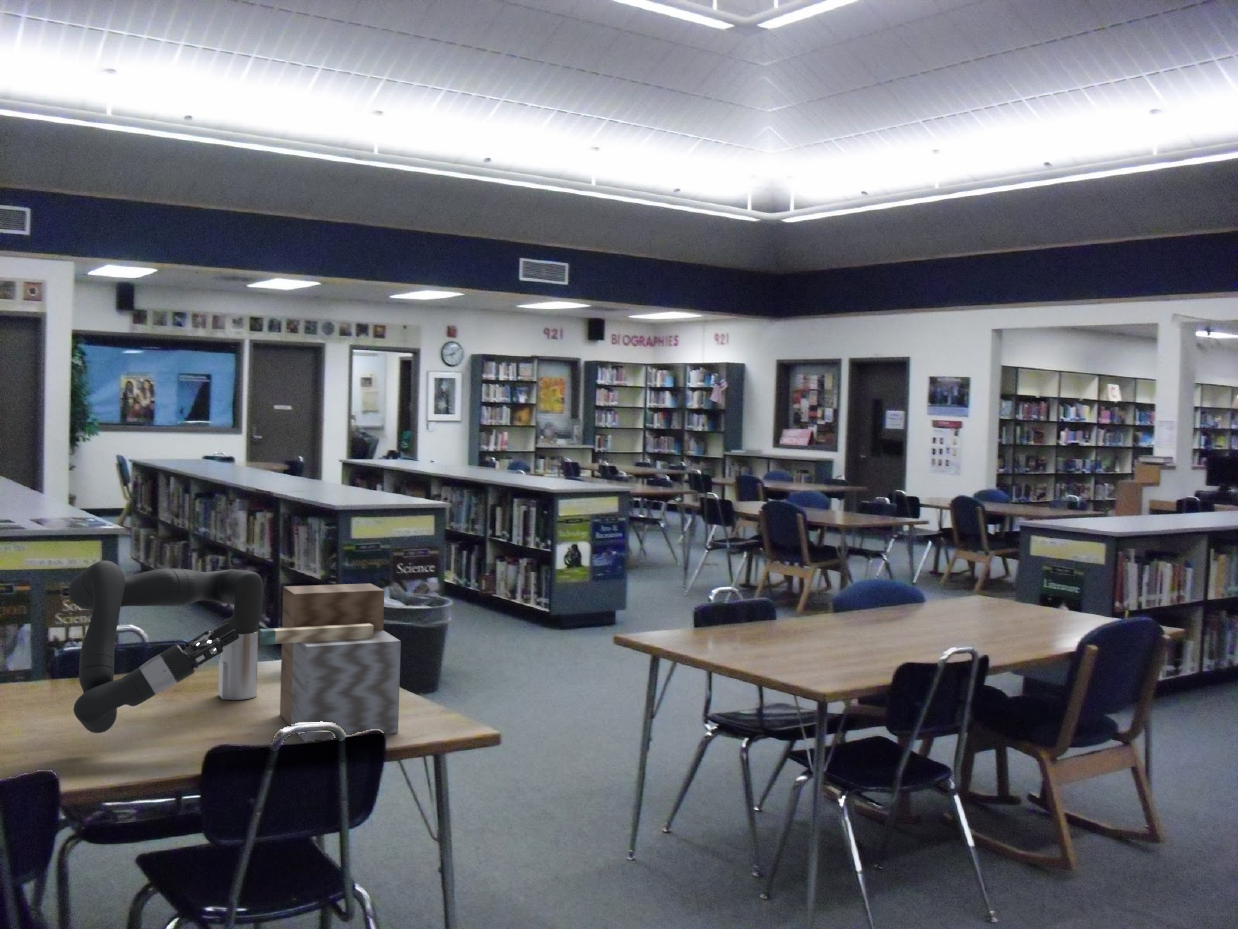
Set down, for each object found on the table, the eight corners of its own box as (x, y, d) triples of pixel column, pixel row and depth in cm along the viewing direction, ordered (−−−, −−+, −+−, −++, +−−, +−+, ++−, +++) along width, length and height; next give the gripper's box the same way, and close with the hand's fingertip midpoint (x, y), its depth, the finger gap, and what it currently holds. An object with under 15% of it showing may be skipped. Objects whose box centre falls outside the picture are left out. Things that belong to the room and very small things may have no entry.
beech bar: (261, 645, 262) (262, 631, 262) (258, 642, 265) (259, 629, 264) (373, 638, 274) (373, 625, 274) (369, 635, 277) (369, 623, 277)
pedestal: (304, 742, 262) (308, 603, 261) (279, 714, 285) (283, 586, 284) (398, 732, 273) (402, 599, 272) (366, 706, 296) (370, 583, 294)
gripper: (162, 662, 246) (231, 621, 253) (154, 649, 259) (220, 610, 265) (180, 690, 249) (248, 649, 255) (171, 676, 261) (236, 637, 267)
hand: (233, 629), depth 260 cm, fingers open, 8 cm apart
